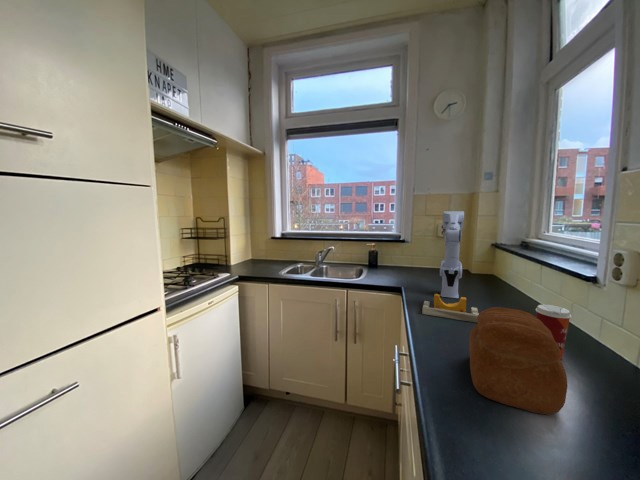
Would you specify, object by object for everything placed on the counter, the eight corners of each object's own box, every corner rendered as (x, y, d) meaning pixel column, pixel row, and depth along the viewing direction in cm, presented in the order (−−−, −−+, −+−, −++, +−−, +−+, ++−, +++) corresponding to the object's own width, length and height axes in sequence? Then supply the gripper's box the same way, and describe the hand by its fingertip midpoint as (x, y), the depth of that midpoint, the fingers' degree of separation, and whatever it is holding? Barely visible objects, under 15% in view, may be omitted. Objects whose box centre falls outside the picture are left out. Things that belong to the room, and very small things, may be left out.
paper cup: (570, 365, 70) (575, 315, 68) (534, 357, 74) (538, 310, 72) (562, 352, 76) (567, 306, 75) (529, 345, 80) (533, 302, 79)
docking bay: (424, 306, 115) (424, 300, 114) (476, 313, 106) (476, 307, 106) (422, 313, 106) (422, 308, 106) (479, 322, 97) (479, 316, 97)
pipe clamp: (464, 311, 109) (465, 296, 109) (465, 314, 105) (466, 299, 105) (434, 306, 115) (434, 292, 114) (433, 309, 111) (434, 295, 110)
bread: (543, 369, 68) (549, 308, 66) (571, 428, 50) (580, 344, 48) (467, 352, 77) (471, 297, 75) (467, 396, 58) (471, 324, 57)
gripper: (442, 253, 123) (441, 281, 124) (441, 258, 110) (440, 289, 111) (459, 254, 120) (457, 283, 121) (460, 259, 107) (458, 291, 108)
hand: (450, 286), depth 116 cm, fingers closed
